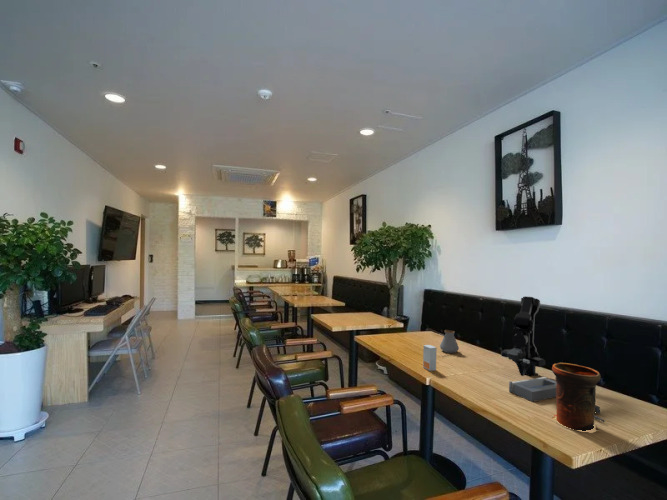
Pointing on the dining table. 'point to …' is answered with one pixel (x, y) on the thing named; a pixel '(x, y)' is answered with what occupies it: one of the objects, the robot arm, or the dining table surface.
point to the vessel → (575, 395)
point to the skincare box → (429, 357)
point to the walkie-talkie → (597, 410)
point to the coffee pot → (448, 341)
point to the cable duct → (537, 391)
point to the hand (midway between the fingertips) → (522, 375)
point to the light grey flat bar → (527, 383)
